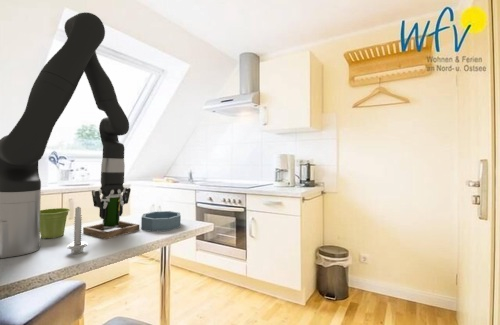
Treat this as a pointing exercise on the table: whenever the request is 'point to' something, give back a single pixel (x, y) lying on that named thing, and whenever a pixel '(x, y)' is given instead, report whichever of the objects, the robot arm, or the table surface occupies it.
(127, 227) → the walnut frame
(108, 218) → the beer can
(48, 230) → the plant pot
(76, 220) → the screw
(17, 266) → the table surface
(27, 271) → the table surface
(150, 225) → the slate bowl
